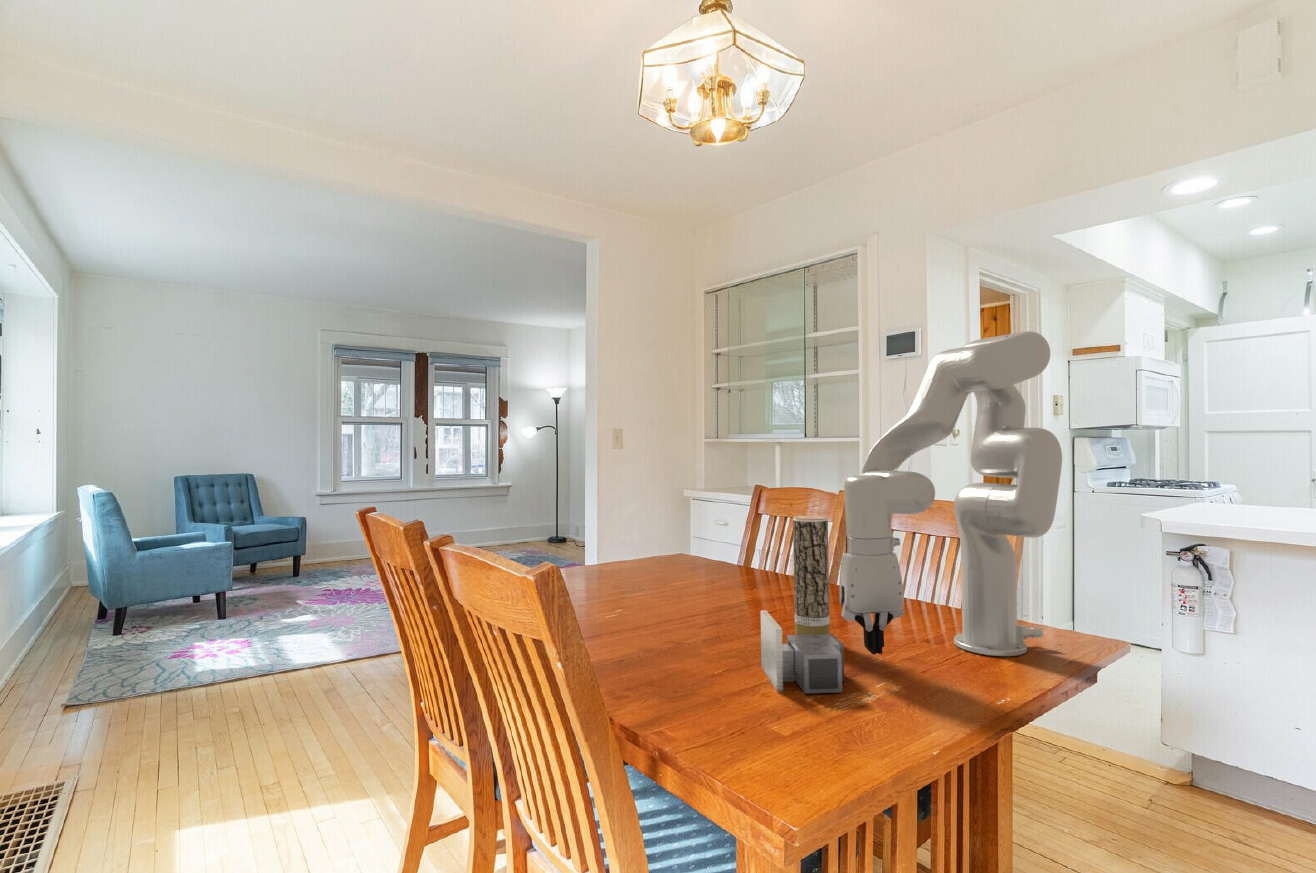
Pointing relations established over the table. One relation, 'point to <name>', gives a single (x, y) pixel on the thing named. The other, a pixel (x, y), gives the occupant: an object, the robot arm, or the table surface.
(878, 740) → the table surface
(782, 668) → the grey t-shaped bracket
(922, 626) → the table surface
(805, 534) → the paper tube
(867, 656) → the table surface
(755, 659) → the table surface
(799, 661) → the elbow
